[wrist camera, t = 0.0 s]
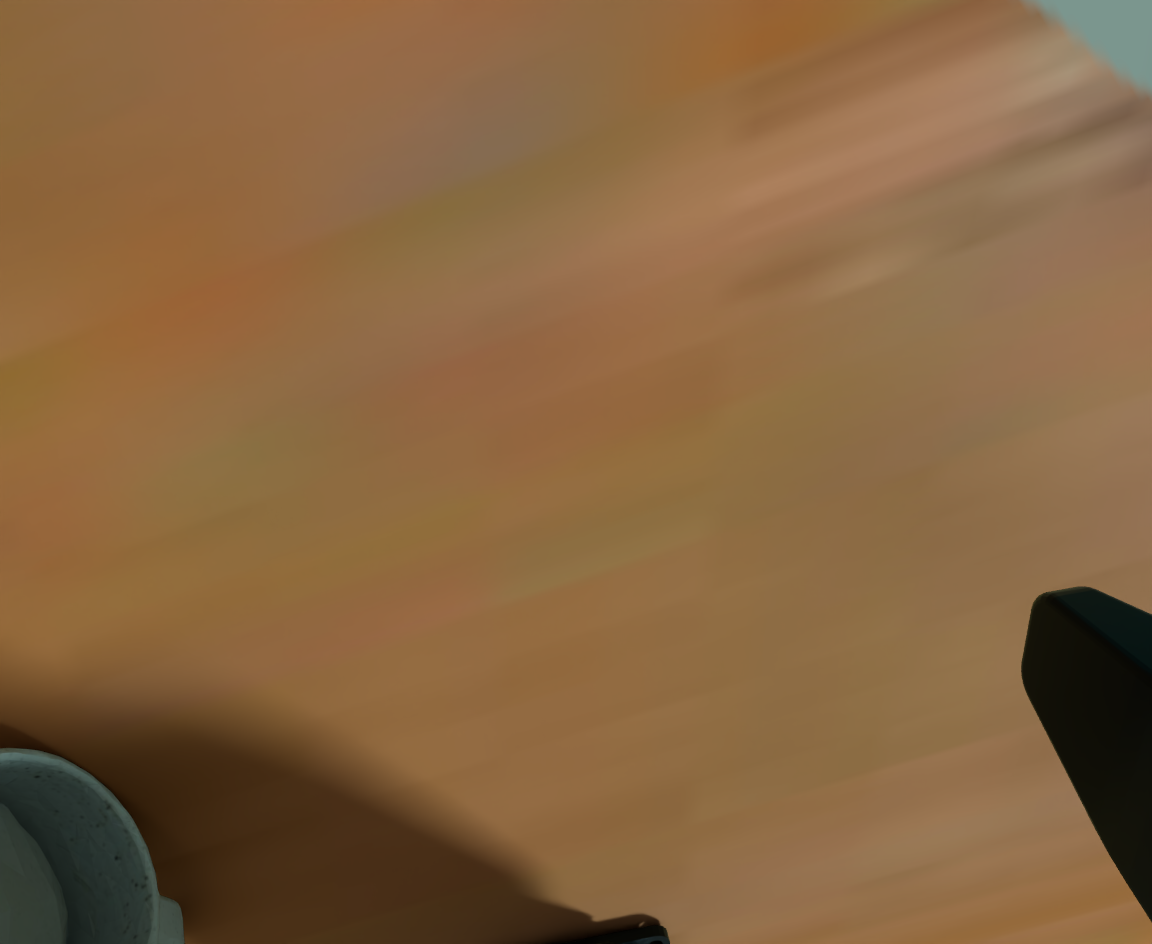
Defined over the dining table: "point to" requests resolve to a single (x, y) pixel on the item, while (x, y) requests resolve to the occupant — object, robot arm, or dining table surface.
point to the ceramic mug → (74, 860)
